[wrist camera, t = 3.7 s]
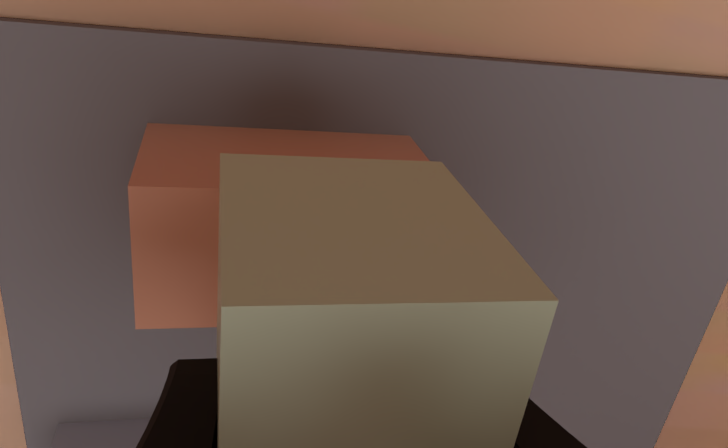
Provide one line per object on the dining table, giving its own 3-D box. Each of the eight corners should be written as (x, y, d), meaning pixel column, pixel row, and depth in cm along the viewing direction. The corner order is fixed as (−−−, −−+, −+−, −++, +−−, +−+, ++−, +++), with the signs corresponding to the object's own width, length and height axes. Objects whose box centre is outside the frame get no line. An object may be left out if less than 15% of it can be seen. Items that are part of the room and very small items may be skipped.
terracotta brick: (409, 135, 17) (456, 194, 14) (392, 244, 19) (431, 321, 16) (147, 122, 16) (128, 185, 12) (151, 242, 17) (135, 329, 14)
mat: (637, 464, 27) (642, 471, 27) (43, 518, 22) (40, 528, 21) (803, 83, 20) (814, 86, 20) (-39, 14, 14) (-45, 16, 14)
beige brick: (383, 469, 13) (444, 674, 10) (214, 484, 12) (212, 713, 9) (441, 161, 10) (559, 301, 7) (219, 153, 9) (221, 306, 6)
